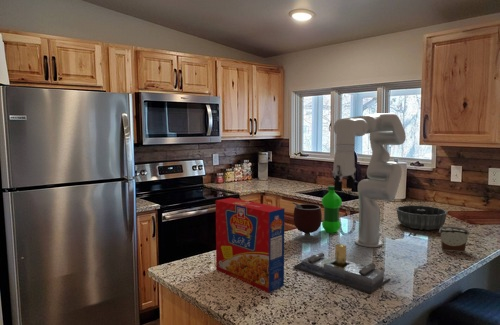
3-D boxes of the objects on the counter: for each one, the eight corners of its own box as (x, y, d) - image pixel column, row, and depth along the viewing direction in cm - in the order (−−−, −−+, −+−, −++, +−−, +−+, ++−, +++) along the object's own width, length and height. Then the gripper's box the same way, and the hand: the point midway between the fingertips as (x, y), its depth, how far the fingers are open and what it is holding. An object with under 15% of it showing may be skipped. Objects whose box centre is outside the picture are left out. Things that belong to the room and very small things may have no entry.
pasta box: (216, 269, 138) (215, 200, 136) (231, 264, 144) (230, 197, 141) (268, 293, 118) (269, 212, 116) (283, 285, 124) (284, 208, 121)
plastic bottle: (332, 235, 183) (333, 188, 181) (317, 230, 192) (318, 185, 189) (344, 232, 189) (345, 186, 187) (329, 227, 197) (330, 184, 195)
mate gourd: (311, 234, 185) (312, 197, 183) (326, 242, 172) (327, 202, 170) (285, 238, 179) (285, 199, 177) (299, 246, 166) (300, 205, 164)
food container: (464, 247, 164) (465, 226, 163) (468, 252, 158) (469, 230, 157) (435, 245, 167) (436, 225, 166) (438, 249, 161) (439, 228, 160)
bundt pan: (387, 226, 202) (387, 209, 201) (407, 218, 219) (408, 202, 218) (435, 236, 182) (436, 217, 181) (453, 227, 199) (454, 209, 198)
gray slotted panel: (316, 257, 151) (317, 244, 150) (390, 279, 128) (390, 264, 128) (294, 268, 139) (294, 253, 139) (370, 294, 117) (370, 277, 116)
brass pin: (338, 268, 137) (338, 243, 136) (347, 271, 134) (348, 245, 133) (332, 271, 134) (333, 245, 133) (342, 274, 131) (342, 248, 130)
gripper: (347, 147, 153) (346, 186, 155) (325, 149, 141) (325, 191, 142) (363, 148, 148) (362, 188, 149) (342, 149, 136) (341, 193, 137)
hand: (344, 189), depth 146 cm, fingers open, 9 cm apart
